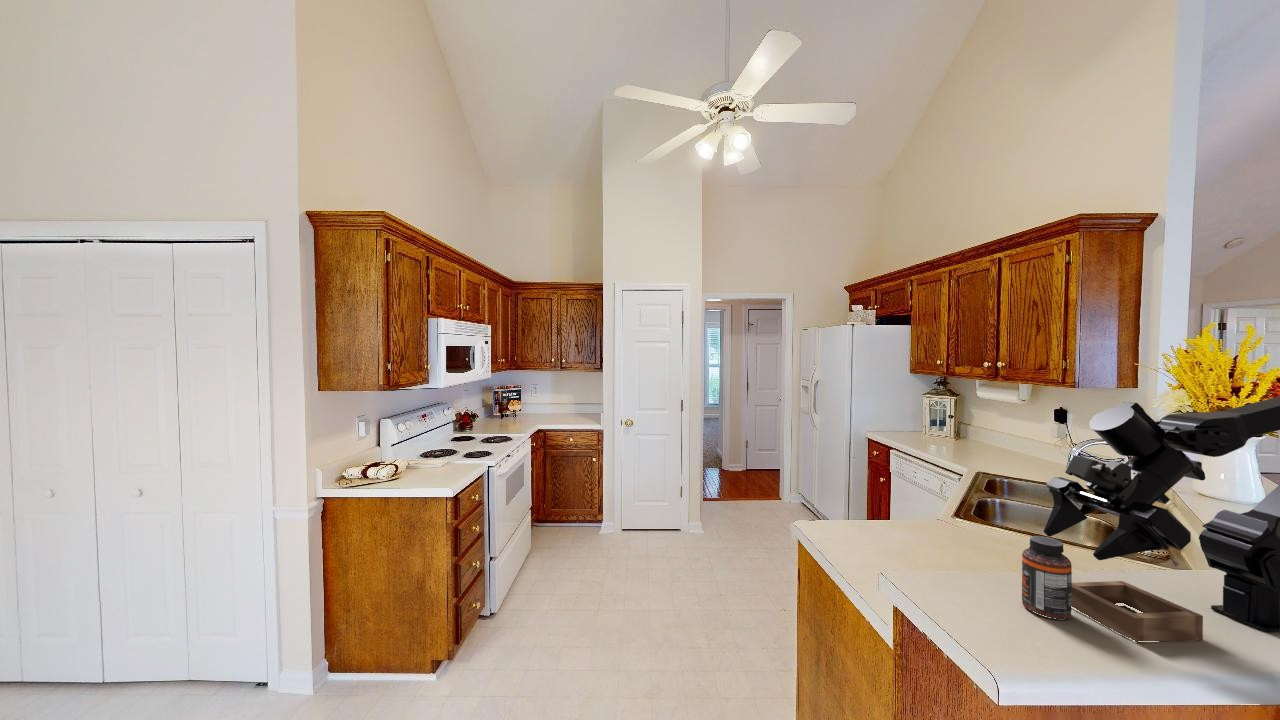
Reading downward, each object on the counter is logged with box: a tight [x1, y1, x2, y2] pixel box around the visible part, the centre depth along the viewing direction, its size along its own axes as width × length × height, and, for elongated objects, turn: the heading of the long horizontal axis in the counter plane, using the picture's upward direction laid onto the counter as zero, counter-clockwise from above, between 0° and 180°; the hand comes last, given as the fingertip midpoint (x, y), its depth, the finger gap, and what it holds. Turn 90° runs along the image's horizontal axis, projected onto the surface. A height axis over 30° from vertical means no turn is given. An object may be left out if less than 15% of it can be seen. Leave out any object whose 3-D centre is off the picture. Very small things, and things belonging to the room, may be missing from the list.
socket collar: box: [1071, 580, 1204, 642], centre depth 72 cm, size 10×10×4 cm
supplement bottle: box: [1021, 535, 1073, 620], centre depth 74 cm, size 6×6×11 cm
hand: (1069, 545), depth 74 cm, fingers open, 9 cm apart
